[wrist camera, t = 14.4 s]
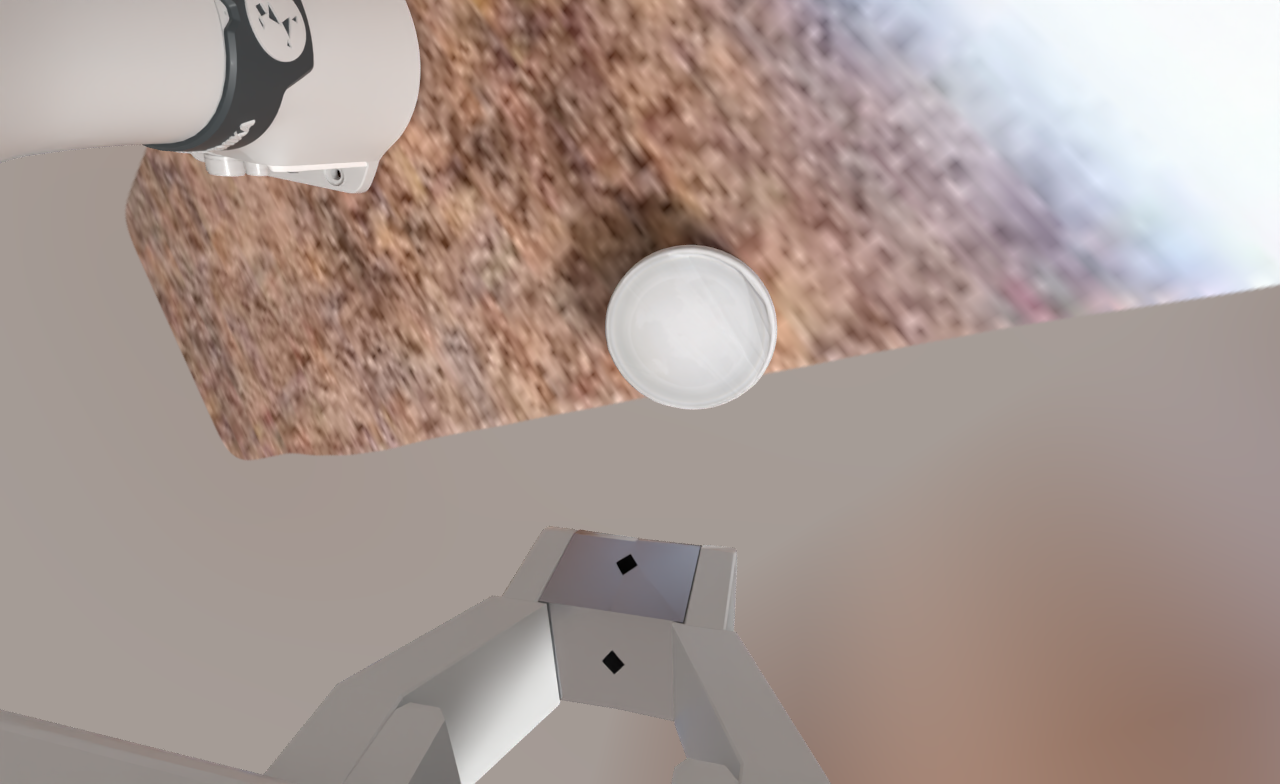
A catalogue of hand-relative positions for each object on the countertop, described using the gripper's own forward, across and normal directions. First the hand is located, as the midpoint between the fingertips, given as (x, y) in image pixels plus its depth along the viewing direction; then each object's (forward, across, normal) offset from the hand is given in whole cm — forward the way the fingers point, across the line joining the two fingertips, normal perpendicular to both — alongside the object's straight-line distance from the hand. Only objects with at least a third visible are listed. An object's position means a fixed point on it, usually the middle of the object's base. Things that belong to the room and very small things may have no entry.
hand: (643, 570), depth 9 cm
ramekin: (+34, -4, -6) cm, 35 cm away
